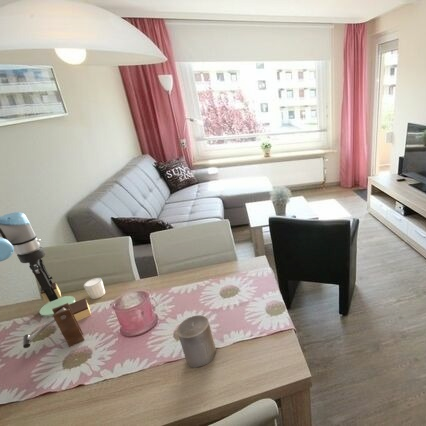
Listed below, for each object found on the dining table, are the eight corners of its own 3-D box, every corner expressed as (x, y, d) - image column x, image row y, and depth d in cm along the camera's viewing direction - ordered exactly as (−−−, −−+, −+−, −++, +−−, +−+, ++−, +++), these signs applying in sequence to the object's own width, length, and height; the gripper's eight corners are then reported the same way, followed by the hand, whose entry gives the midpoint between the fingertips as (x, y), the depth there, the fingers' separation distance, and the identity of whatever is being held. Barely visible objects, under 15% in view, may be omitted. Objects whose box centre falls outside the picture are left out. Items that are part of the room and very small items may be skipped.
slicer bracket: (61, 357, 103) (42, 322, 96) (59, 343, 108) (41, 310, 102) (95, 340, 109) (79, 307, 102) (92, 329, 114) (77, 297, 108)
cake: (68, 327, 115) (62, 317, 113) (66, 317, 121) (61, 307, 119) (92, 317, 120) (87, 307, 118) (89, 307, 126) (85, 298, 124)
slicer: (27, 349, 96) (20, 346, 95) (27, 340, 100) (20, 336, 99) (70, 315, 102) (64, 312, 101) (68, 308, 106) (63, 304, 104)
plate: (40, 321, 119) (39, 319, 119) (40, 306, 128) (39, 305, 127) (77, 306, 127) (76, 304, 126) (74, 294, 135) (73, 292, 134)
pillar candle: (203, 340, 107) (194, 308, 101) (222, 350, 102) (214, 318, 96) (180, 360, 99) (169, 327, 93) (199, 373, 94) (189, 338, 88)
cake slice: (46, 303, 122) (40, 292, 120) (45, 297, 125) (40, 287, 123) (61, 297, 125) (56, 287, 123) (60, 292, 128) (55, 282, 126)
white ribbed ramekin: (96, 301, 130) (90, 288, 127) (85, 298, 132) (79, 285, 129) (110, 291, 135) (105, 279, 133) (99, 288, 138) (94, 276, 135)
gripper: (42, 254, 112) (66, 302, 121) (41, 239, 124) (63, 283, 133) (15, 262, 107) (42, 311, 117) (16, 245, 119) (41, 291, 129)
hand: (53, 296), depth 125 cm, fingers closed on cake slice, 5 cm apart
